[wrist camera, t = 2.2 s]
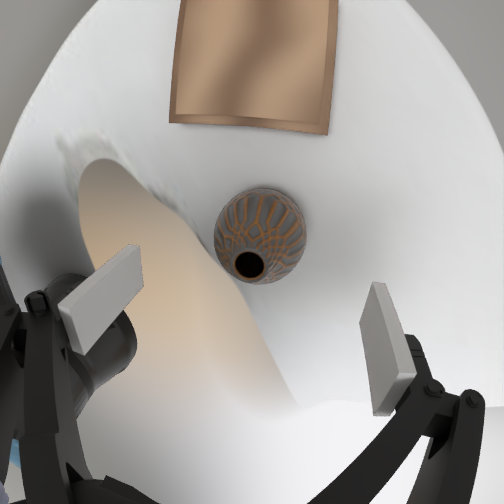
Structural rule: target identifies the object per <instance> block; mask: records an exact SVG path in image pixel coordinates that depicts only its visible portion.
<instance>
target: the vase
mask: <svg viewBox="0 0 504 504" xmlns="http://www.w3.org/2000/svg"><path fill="white" fill-rule="evenodd" d="M305 244H306V227H305V222H304V219H303V216H302V214H301V212H300V210H299V209H298V207H297V206H296V205H295V203H294V202H293V201H292V200H290V199H289V198H288V197H287V196H285V195H284V194H282V193H280V192H277V191H274V190H271V189H252V190H248V191H245V192H243V193H241V194H239V195H237V196H236V197H234V198H233V199H232V200H231V201H230V202H228V203H227V205H226V206H225V207H224V208H223V210H222V211H221V213H220V214H219V216H218V219H217V221H216V225H215V229H214V247H215V251H216V254H217V257H218V259H219V261H220V263H221V264H222V266H223V267H224V268H225V269H226V271H227V272H229V273H230V274H231V275H232V276H234V277H235V278H237V279H239V280H241V281H243V282H246V283H250V284H268V283H272V282H275V281H277V280H279V279H281V278H283V277H284V276H286V275H287V274H288V273H290V272H291V271H292V270H293V268H294V267H295V266H296V265H297V263H298V262H299V260H300V259H301V257H302V254H303V252H304V249H305Z"/></svg>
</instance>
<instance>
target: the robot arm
mask: <svg viewBox="0 0 504 504" xmlns="http://www.w3.org/2000/svg"><path fill="white" fill-rule="evenodd" d="M1 262H2V261H1V256H0V504H7V503H8V501H9V497H8V495H7V494H6V493H5V490H4V487H3V486H4V483H5V479H6V476H7V471H8V465H9V461H10V462H12V463H13V464H15V465H16V466H18V467H19V468H21V472H22V479H23V486H24V491H25V497H26V499H25V500H21V501H18V502H14V503H10V504H159V503H157V502H155V501H154V500H152V499H150V498H149V497H147V496H146V495H144V494H143V493H141V492H139V491H138V490H137V489H135V488H134V487H132V486H130V485H127V484H125V483H122V482H120V481H118V480H116V479H114V478H111V477H109V476H107V475H106V476H105V478H104V480H97V479H93V478H92V476H91V474H90V472H89V470H88V468H87V466H86V462H85V458H84V454H83V450H82V445H81V441H80V436H79V432H78V427H77V421H76V419H77V418H78V416H79V414H80V413H81V411H82V409H83V408H84V406H85V405H86V403H87V402H88V400H89V398H90V397H91V396H92V394H93V392H94V391H95V390H96V389H97V388H98V387H100V386H101V385H103V384H104V383H106V382H107V381H108V380H110V379H111V378H112V377H114V376H115V375H116V374H118V373H120V372H122V371H123V370H125V368H126V367H127V366H128V365H129V363H130V362H131V360H132V359H133V357H134V355H135V353H136V350H137V338H136V334H135V331H134V328H133V326H132V323H131V321H130V320H129V318H128V316H127V314H126V313H125V312H124V310H123V309H124V308H125V307H126V306H127V305H128V304H129V302H130V301H131V300H132V299H133V298H134V296H135V295H136V294H137V293H138V292H139V291H140V290H141V289H142V288H143V277H142V266H141V257H140V246H136V245H130V244H129V245H127V246H126V247H125V248H124V249H122V250H121V251H120V252H119V253H117V254H116V255H115V256H114V257H112V258H111V259H110V260H109V261H107V262H106V263H105V264H104V265H103V266H101V267H100V268H99V269H98V270H97V271H95V272H94V273H93V274H92V275H91V276H89V277H88V278H85V277H83V276H80V275H76V274H64V275H61V276H59V277H57V278H56V279H55V280H54V281H52V282H51V283H50V284H49V285H48V286H47V287H46V288H45V289H44V291H42V290H38V291H34V292H32V293H30V294H28V295H27V296H26V297H25V299H24V302H25V305H26V308H27V310H28V312H21V309H20V307H19V305H18V304H17V303H16V301H15V299H14V296H13V294H12V292H11V289H10V287H9V284H8V281H7V279H6V276H5V273H4V270H3V268H2V265H1ZM359 324H360V329H361V335H362V340H363V346H364V352H365V358H366V365H367V371H368V378H369V385H370V392H371V400H372V408H373V416H390V415H391V413H392V412H393V411H394V409H395V410H396V414H395V415H394V416H393V417H392V419H391V420H390V421H389V422H388V423H387V425H386V426H385V427H384V428H383V429H382V431H381V432H380V433H379V434H378V435H377V436H376V438H375V439H374V440H373V441H372V442H371V443H370V444H369V445H368V446H367V447H366V448H365V450H364V451H363V452H362V453H361V454H360V455H359V456H358V457H357V458H356V459H355V460H354V461H353V462H352V463H351V464H350V465H349V466H348V467H347V468H346V469H345V470H344V471H343V472H342V473H341V474H340V475H339V476H338V477H337V478H336V479H335V480H334V481H332V483H330V484H329V485H328V486H327V487H326V488H325V489H324V490H323V491H321V492H320V493H319V494H318V495H317V496H316V497H314V498H313V499H312V500H311V501H310V502H309V503H307V504H369V503H370V502H371V501H372V499H373V498H374V497H375V496H376V495H377V494H378V493H379V491H380V490H381V489H382V488H383V487H384V485H385V484H386V483H387V482H388V481H389V479H390V478H391V477H392V476H393V474H394V473H395V471H397V469H398V468H399V467H400V465H401V464H402V463H403V461H404V460H405V459H406V457H407V456H408V454H409V453H410V452H411V450H412V449H413V447H414V446H415V444H416V443H417V441H418V440H419V438H420V437H421V435H424V436H428V437H430V440H429V443H428V446H427V450H426V453H425V456H424V459H423V462H422V465H421V468H420V471H419V473H418V476H417V479H416V481H415V484H414V486H413V489H412V491H411V494H410V496H409V499H408V501H407V503H406V504H469V502H470V498H471V494H472V490H473V485H474V481H475V477H476V472H477V467H478V462H479V456H480V449H481V442H482V434H483V426H484V415H485V400H484V398H483V396H482V395H481V394H480V393H479V392H477V391H475V390H472V389H468V390H465V391H464V392H462V394H461V395H460V396H457V395H453V394H450V393H447V392H445V388H444V387H443V385H442V384H441V383H440V382H439V381H437V380H435V379H433V378H432V375H431V372H430V369H429V366H428V363H427V360H426V358H425V355H424V352H423V349H422V347H421V344H420V342H419V341H418V339H417V338H416V337H415V336H414V335H409V334H404V332H403V329H402V326H401V323H400V321H399V318H398V315H397V312H396V310H395V307H394V304H393V302H392V299H391V297H390V294H389V291H388V289H387V286H386V284H385V283H378V282H372V285H371V288H370V291H369V295H368V298H367V301H366V304H365V307H364V310H363V313H362V316H361V319H360V322H359Z"/></svg>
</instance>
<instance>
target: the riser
mask: <svg viewBox="0 0 504 504" xmlns="http://www.w3.org/2000/svg"><path fill="white" fill-rule="evenodd" d="M337 20H338V0H181V3H180V10H179V17H178V25H177V32H176V41H175V50H174V59H173V70H172V82H171V95H170V111H169V123H199V124H223V125H239V126H252V127H264V128H274V129H283V130H292V131H300V132H307V133H314V134H321V135H327V136H328V127H329V118H330V109H331V99H332V89H333V78H334V66H335V53H336V38H337Z"/></svg>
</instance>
